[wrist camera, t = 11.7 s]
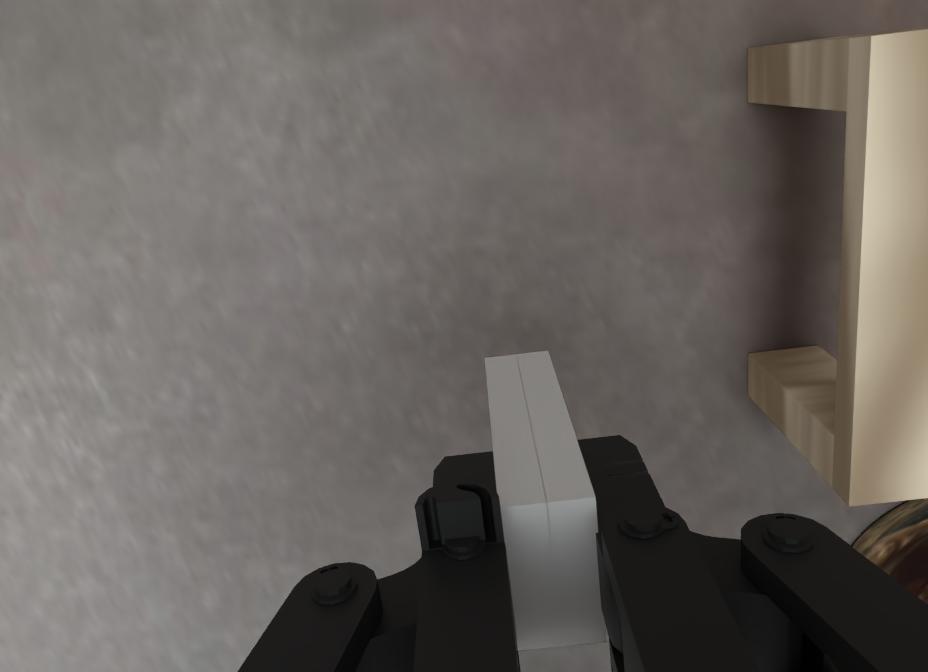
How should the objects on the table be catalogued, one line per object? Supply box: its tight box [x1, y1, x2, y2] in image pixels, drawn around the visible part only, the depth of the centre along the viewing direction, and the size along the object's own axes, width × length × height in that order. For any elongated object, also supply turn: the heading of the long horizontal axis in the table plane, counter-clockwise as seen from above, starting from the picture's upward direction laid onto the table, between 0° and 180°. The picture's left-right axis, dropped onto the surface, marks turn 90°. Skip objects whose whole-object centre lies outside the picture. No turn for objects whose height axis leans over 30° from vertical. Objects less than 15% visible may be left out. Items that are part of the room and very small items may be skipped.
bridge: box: [748, 28, 928, 507], centre depth 27 cm, size 3×14×9 cm, turn 7°
